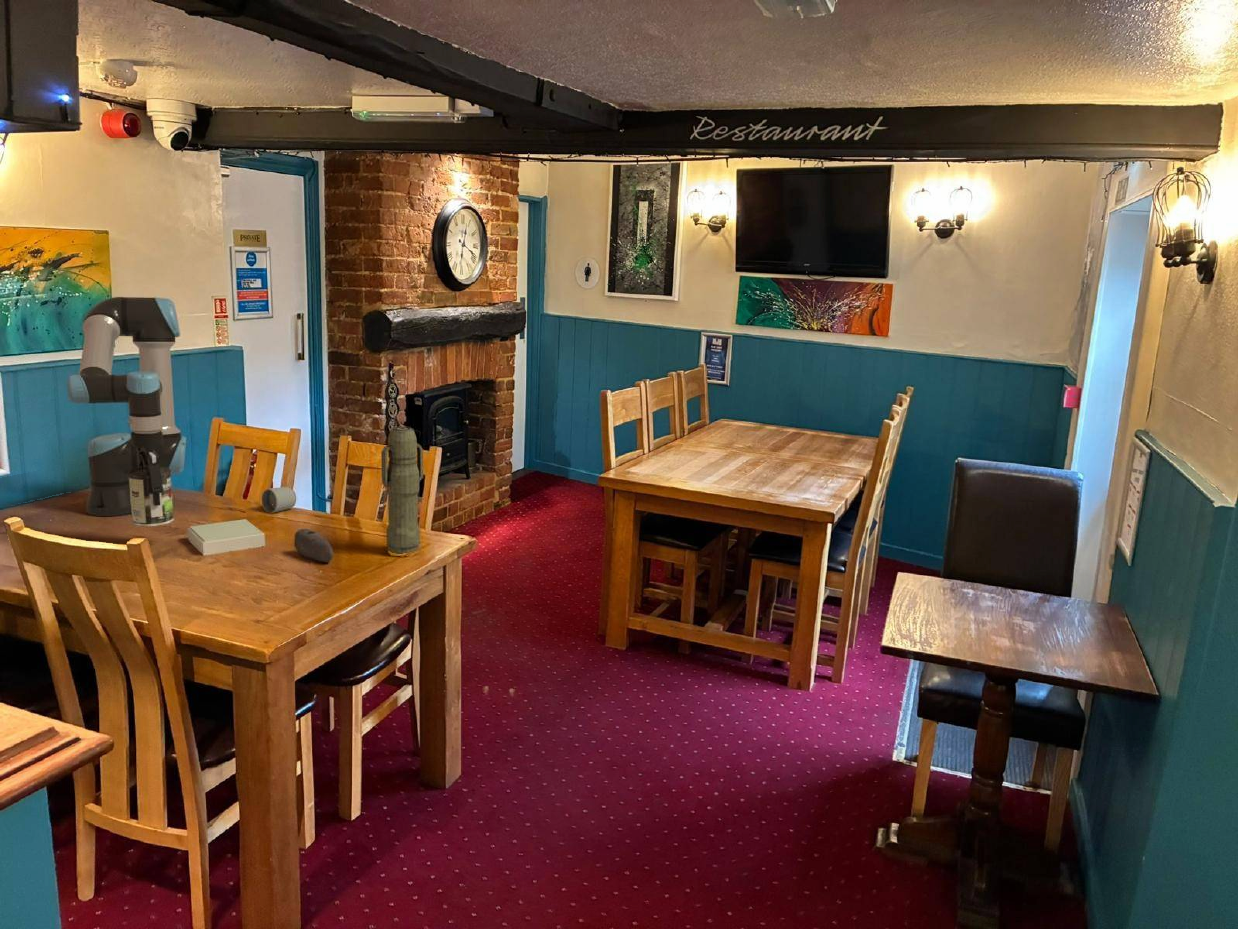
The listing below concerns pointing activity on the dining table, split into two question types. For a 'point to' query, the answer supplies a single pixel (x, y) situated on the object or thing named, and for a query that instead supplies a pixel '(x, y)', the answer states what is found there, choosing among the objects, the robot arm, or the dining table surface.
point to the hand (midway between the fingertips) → (152, 511)
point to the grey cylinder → (278, 499)
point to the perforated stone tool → (313, 545)
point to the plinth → (225, 537)
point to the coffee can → (142, 498)
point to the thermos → (402, 489)
